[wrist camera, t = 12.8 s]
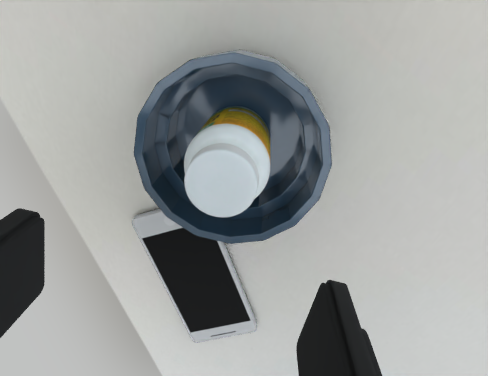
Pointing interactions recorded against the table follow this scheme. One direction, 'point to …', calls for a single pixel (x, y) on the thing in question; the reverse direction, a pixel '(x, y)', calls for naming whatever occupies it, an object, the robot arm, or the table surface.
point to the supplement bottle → (228, 162)
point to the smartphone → (196, 278)
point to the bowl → (199, 112)
